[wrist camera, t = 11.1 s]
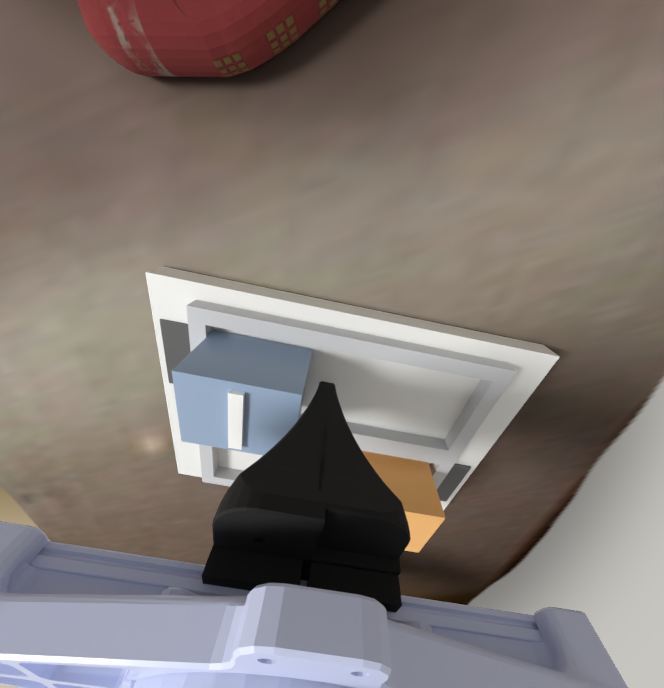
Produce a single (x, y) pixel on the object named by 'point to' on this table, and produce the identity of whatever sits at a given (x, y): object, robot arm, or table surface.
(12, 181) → the table surface
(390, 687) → the robot arm
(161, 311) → the white flat tray
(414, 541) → the orange white-striped block
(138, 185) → the table surface
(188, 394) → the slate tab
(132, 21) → the pliers
